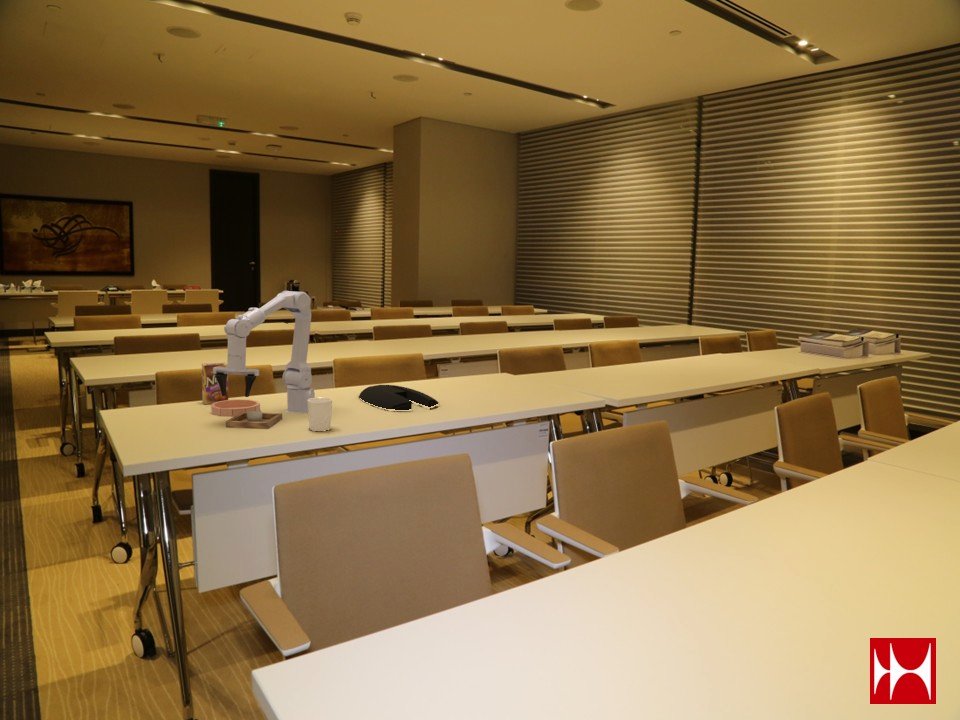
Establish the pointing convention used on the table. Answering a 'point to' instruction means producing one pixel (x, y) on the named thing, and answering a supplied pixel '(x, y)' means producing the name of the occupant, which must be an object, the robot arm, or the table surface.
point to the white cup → (319, 413)
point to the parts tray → (242, 422)
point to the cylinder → (254, 416)
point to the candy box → (212, 384)
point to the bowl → (234, 407)
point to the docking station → (395, 397)
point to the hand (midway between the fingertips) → (235, 396)
